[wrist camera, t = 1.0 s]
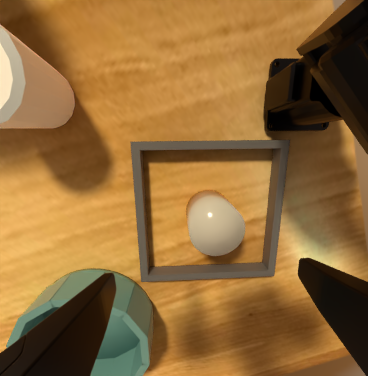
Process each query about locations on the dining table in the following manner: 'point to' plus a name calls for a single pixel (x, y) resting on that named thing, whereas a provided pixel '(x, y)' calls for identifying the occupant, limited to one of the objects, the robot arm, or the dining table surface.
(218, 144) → the gray square frame
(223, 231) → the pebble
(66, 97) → the white cup
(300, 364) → the dining table surface
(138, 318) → the bowl
